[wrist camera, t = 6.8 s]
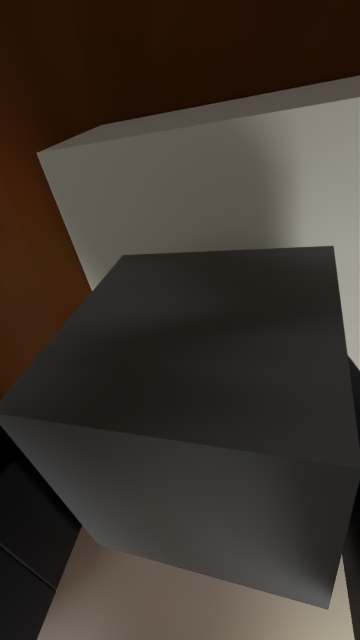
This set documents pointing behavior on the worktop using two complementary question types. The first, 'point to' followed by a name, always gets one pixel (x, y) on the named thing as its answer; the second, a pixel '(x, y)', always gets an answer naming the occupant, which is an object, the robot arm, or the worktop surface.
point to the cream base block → (220, 183)
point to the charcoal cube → (204, 416)
